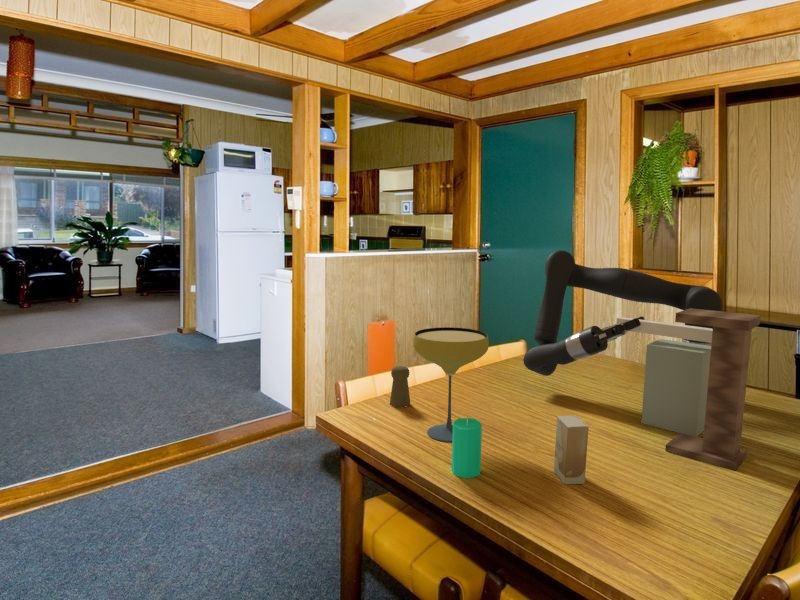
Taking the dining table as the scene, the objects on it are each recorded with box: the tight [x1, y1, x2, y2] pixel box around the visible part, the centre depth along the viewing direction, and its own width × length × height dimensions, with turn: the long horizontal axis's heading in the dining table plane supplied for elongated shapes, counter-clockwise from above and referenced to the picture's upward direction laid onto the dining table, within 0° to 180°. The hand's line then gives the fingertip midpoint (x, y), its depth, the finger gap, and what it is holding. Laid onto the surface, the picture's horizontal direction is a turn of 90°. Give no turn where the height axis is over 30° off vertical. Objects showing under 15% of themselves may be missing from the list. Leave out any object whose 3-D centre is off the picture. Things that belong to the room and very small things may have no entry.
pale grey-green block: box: [641, 338, 711, 437], centre depth 138 cm, size 13×10×21 cm
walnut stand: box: [665, 308, 761, 471], centre depth 120 cm, size 14×10×32 cm
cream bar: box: [615, 316, 713, 343], centre depth 138 cm, size 26×3×3 cm, turn 46°
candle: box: [451, 415, 483, 479], centre depth 112 cm, size 6×6×12 cm
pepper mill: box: [389, 365, 411, 408], centre depth 154 cm, size 6×6×11 cm
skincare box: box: [553, 415, 589, 485], centre depth 109 cm, size 6×4×12 cm
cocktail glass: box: [412, 326, 490, 443], centre depth 131 cm, size 18×18×25 cm
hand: (641, 320), depth 143 cm, fingers closed on cream bar, 3 cm apart
